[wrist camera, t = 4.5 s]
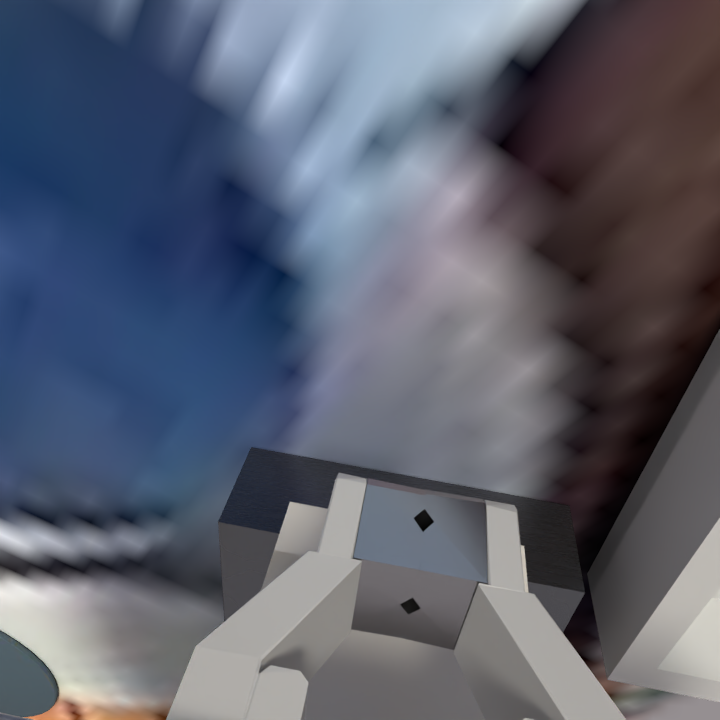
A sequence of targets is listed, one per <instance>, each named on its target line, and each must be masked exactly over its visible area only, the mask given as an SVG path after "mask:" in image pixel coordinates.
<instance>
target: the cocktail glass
mask: <svg viewBox="0 0 720 720" xmlns="http://www.w3.org/2000/svg"><path fill="white" fill-rule="evenodd" d="M57 696H58V688H57V685H56V682H55V679H54V677H53V676H52V674H51V672H50V671H49V669H48V668H47V667H46V666H45V665H44V664H43V662H42V661H41V660H40V659H39V658H37V657H36V656H35V655H34V654H33V653H32V652H31V651H30V650H28V649H27V648H26V647H24V646H23V645H22V644H20V643H19V642H17V641H16V640H14V639H13V638H11V637H9V636H8V635H6V634H5V633H3V632H1V631H0V713H5V714H10V715H14V716H19V717H29V716H35V715H39V714H42V713H44V712H46V711H48V710H49V709H50V708H51V707H52V706H53V705H54V703H55V701H56V699H57Z"/></svg>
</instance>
